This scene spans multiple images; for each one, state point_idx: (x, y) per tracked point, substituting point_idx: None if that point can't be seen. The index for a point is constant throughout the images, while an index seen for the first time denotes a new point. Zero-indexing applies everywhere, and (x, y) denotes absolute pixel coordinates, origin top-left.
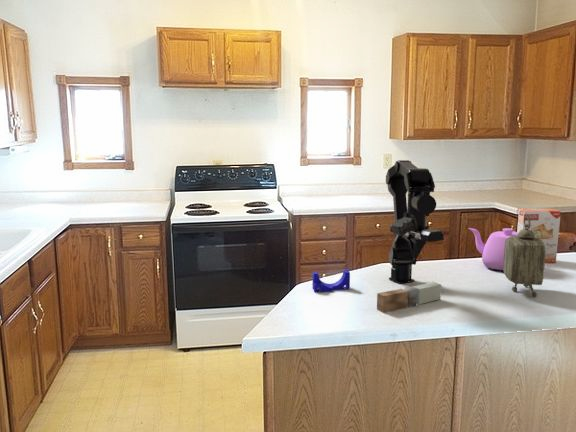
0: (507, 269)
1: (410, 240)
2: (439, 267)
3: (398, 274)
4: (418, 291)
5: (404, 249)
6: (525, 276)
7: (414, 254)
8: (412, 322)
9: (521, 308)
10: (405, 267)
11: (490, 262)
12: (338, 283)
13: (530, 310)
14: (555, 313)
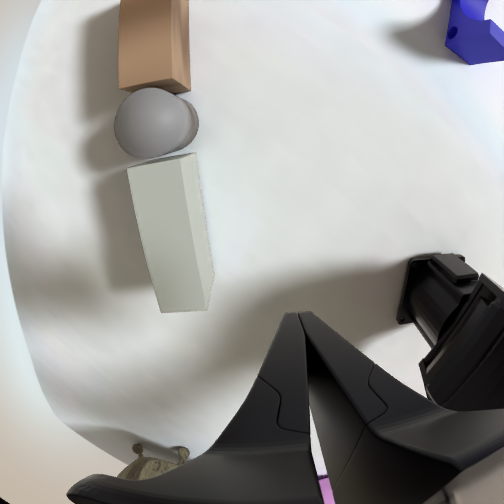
0: None
1: (385, 454)
2: None
3: (439, 277)
4: (139, 165)
5: (482, 364)
6: (124, 473)
7: (283, 333)
8: (41, 55)
9: (75, 388)
10: (438, 319)
11: (325, 488)
12: (469, 16)
13: (65, 390)
14: (52, 403)
